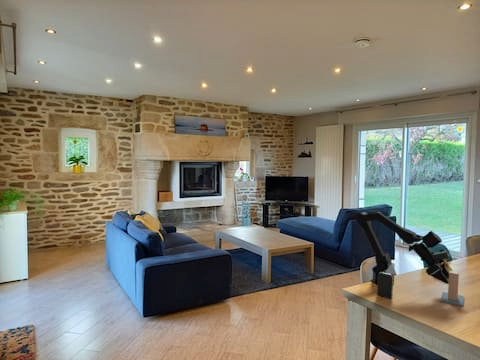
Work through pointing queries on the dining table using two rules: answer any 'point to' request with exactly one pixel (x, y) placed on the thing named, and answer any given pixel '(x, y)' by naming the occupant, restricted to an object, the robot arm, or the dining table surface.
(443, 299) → the mat
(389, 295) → the battery charger
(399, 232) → the robot arm
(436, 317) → the dining table surface
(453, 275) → the block
